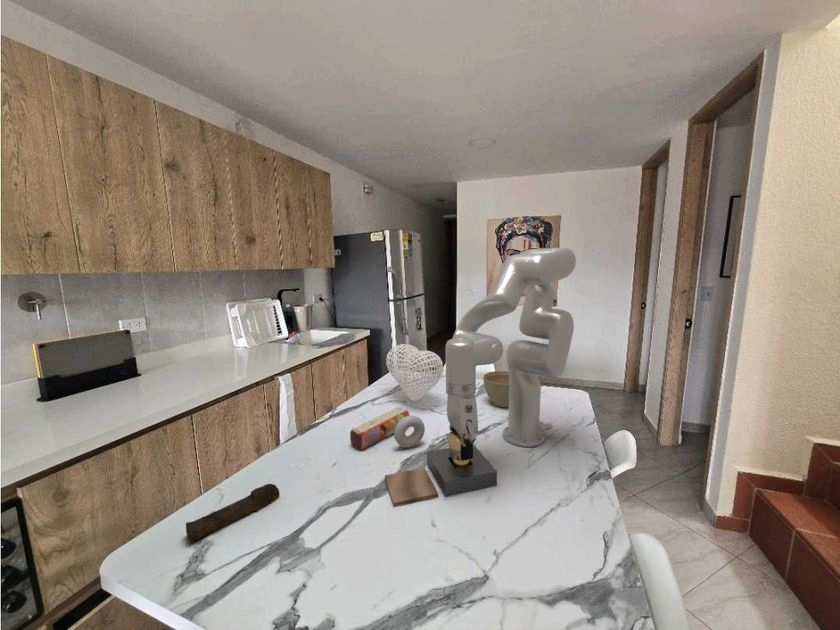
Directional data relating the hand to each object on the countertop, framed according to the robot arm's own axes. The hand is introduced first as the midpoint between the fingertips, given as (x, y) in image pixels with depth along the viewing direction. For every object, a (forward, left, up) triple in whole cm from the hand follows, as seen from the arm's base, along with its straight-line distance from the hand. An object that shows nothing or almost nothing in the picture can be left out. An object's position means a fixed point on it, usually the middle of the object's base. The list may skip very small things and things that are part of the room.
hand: (461, 451), depth 91 cm
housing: (0, 0, -7) cm, 7 cm away
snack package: (+16, -27, -7) cm, 32 cm away
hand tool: (+54, -1, -7) cm, 55 cm away
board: (+14, +1, -7) cm, 16 cm away
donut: (+9, -18, -7) cm, 21 cm away
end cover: (0, 0, -6) cm, 6 cm away
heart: (-2, -52, -7) cm, 52 cm away
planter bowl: (-35, -38, -7) cm, 52 cm away
